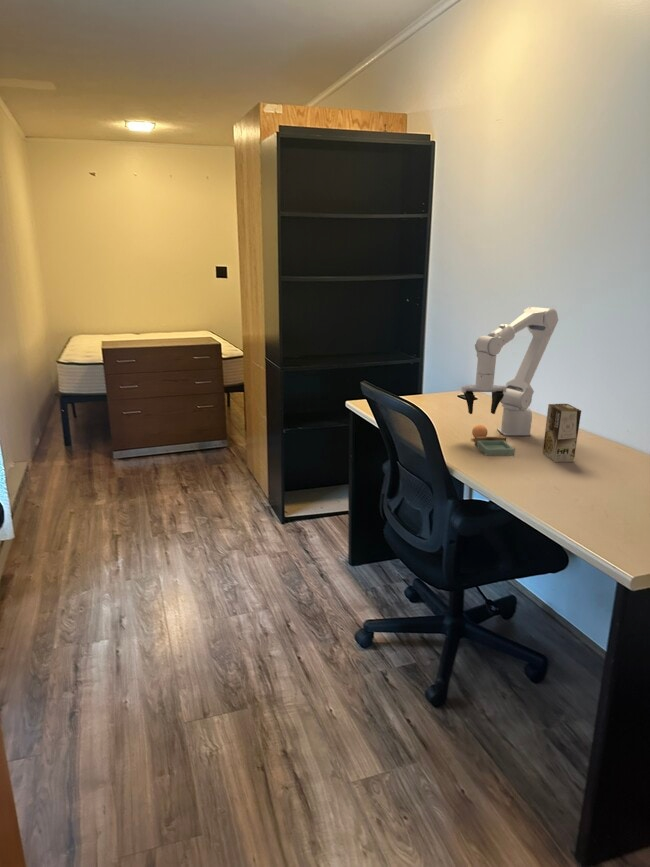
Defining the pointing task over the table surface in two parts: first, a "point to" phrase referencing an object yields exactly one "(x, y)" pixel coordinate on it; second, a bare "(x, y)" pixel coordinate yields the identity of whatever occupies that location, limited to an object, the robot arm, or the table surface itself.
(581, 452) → the table surface
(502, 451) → the tray
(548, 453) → the coffee box
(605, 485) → the table surface
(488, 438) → the rail
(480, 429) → the ball
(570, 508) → the table surface
